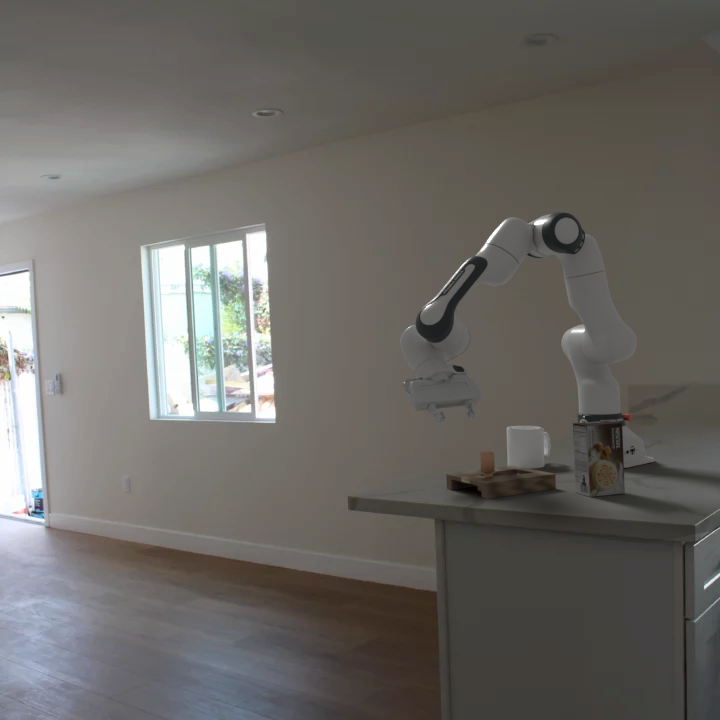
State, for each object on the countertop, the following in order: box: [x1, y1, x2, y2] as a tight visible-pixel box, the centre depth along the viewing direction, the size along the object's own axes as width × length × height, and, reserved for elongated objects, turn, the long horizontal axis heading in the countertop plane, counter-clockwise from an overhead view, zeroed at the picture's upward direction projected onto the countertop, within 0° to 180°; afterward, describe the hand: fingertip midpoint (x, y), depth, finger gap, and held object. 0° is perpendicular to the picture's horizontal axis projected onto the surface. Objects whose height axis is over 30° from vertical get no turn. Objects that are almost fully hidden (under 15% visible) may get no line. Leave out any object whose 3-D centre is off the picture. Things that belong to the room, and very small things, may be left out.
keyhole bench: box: [445, 465, 557, 500], centre depth 191 cm, size 20×16×4 cm
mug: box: [506, 425, 551, 469], centre depth 224 cm, size 14×10×11 cm
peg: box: [477, 451, 496, 493], centre depth 189 cm, size 5×5×9 cm
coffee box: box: [572, 421, 626, 498], centre depth 181 cm, size 9×6×16 cm
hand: (457, 418), depth 200 cm, fingers open, 8 cm apart
